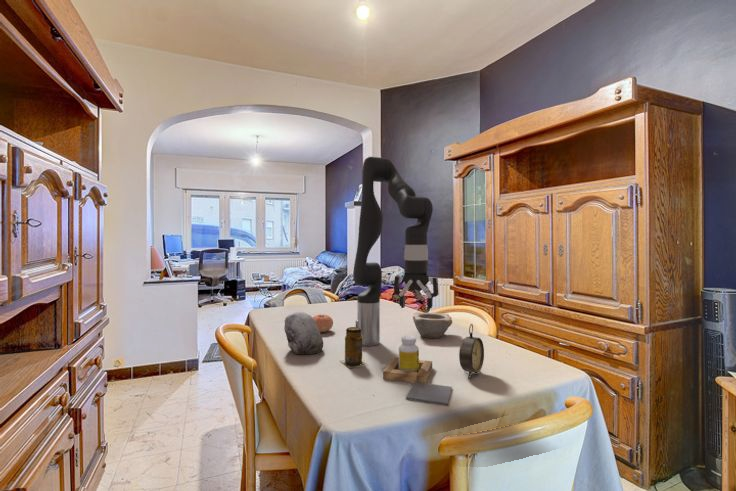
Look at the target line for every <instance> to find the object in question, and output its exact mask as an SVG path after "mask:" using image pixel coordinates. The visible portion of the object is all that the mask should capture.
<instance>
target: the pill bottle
mask: <svg viewBox="0 0 736 491" xmlns="http://www.w3.org/2000/svg"><path fill="white" fill-rule="evenodd" d="M400 342H401V344H400V345H399V347H398V357H399V369H398V370H402V371H410V372H419V360H420V357H419V356H420V354H419V353H420V348H419V346H418V345H417V344H416V343H417V338H416V336H413V335H403V336H401V339H400Z"/></svg>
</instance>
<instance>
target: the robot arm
mask: <svg viewBox="0 0 736 491" xmlns="http://www.w3.org/2000/svg"><path fill="white" fill-rule="evenodd" d="M361 170H362V171H361V174H362V176H361V186H362V188H361V203H360V212H359V214H360V215H359V221H358V222H359V225H358V236H357V239H358V240H357V247H356V253H355V260H354V264H353V281H354V283H355V285H356V286H359V287H360V286H368V287H367V288H366V289H365V290H364V291H362V292H360V293H358V295H357V298H356V299H357V300H356V301H357V302H356V304H357V310H356V311H357V313H356V314H357V315H356V316H357V319H356V320H355V327H358V328H360V329H361V336H362V347H363V346H364V347H365V346H366V347H372V346H378V345H380V341H381V340H380V338H381V337H380V335H381V333H380V332H381V331H380V330H381V329H380V328H381V327H380V326H381V325H380V324H381V318H380V317H381V316H380V315H381V314H380V313H381V311H380V310H381V308H380V307H381V295H382V294H381V293H382V281H383V279H382V278H383V277H382V276H383V275H382V274H383V273H382V267H381V265H380V264H379V263H378V262H367V261H368V257H369V254H370V251H371V250H372V248H373V247H374V246H375V244H376V242H377V241H378V239H379V238H380V236H381V234H382V231H383V223H384V214H383V211H382V209H381V207H380V205H379V202H378V200H377V197H376V196H375V192H374V191H375V190H374V189H375V188H374V183H375V182H376V183H378V182H379V183H384V182H385V183H386V184H388V186H387V190H388V194H389V195H390V197H391V198H392V199H393V200H394V201H395V202H396V204H397V207H398V210H399V214H400V216H402V217H404V218H405V219H411V220H412V219H414V220H416V219H417V220H416V223H415V224H414V225H412V226H411V225H410V226H408V227H406V229H405V232H404V235H405V237H404V239H405V240H404V241H405V242H404V257H403V258H404V259H403V260H404V265H403V266H404V270H403V271H404V273H403V276H400V275H399V274H398V275H396V276H394V285H393V294H394V295H397V296H398V297H399V302H398V303H399V307H400V308H401V309H404V308H405V307H406V296H405V294H406V293H407V292H408V291H409V290H410V291H414V290H415V291H421V290H422V291H423V293H424V294H425V295H426V297H427V298H426V310H427V311H430V310H431V309H432V308H433V298H436V297H437V296H439V294H440V293H439V278H438V277H437V276H435V277H429V272H428V271H429V270H428V269H429V250H428V232H429V231H428V230H429V226H430V222H431V219H432V216H433V215H432V214H433V210H434V208H433V203H432V201H431V200H430V199H429V197H424V196H416V192H415V190H414V189H413V188H412V187H411V186H410V185H409V184H408V183H407V182H405V181H404V179H403V177H402V176H401V174H400V173H399V172H398V169H397V168H396V167H395V165H394V163H393V162H392V161H391V160H390V159H389V158H385V157H379V156H378V157H377V156H366V157H365V158H364V161H363V163H362V169H361ZM402 281H403V282H404V284H405V285H404V287H403V288H402V289H401V290H400V288H401V286H400V284H401V283H402ZM429 282H430V284H431V285H432V290H433V292H432V291H431V290H430V287H428V283H429Z"/></svg>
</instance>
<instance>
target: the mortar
mask: <svg viewBox="0 0 736 491" xmlns="http://www.w3.org/2000/svg"><path fill="white" fill-rule="evenodd" d="M412 318H413V324H414V326H415V329H416V330H417V332H418V334H419V335H420V336H421V337H422V338H426V339H440V338H443V336H444V335H445V334H446V332H447V331H448V329H449V327H451V326H452V324H453V319H452V316H450V315H449V314H448V313H440V312H439V313H437V312H414V313H413V315H412Z"/></svg>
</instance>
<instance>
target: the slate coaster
mask: <svg viewBox="0 0 736 491" xmlns="http://www.w3.org/2000/svg"><path fill="white" fill-rule="evenodd" d="M452 388H453V386H449V385H443V384H442V385H441V384H434V383H427V382H426V383H420V382H414V383H413V384H412V386H411V387H410V389H409V390H408V393H407V395H406V396H405V399H406V400H408V401H409V400H411V401H415V402H422V403H429V404H436V405H442V406H448V403H449V400H450V397H451V392H452V390H453V389H452Z"/></svg>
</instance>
